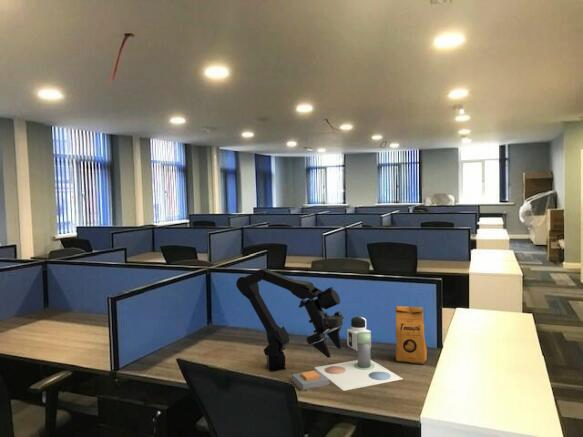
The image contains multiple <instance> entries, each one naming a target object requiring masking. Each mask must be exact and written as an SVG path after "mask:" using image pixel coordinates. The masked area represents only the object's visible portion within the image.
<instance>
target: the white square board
mask: <svg viewBox="0 0 583 437" xmlns="http://www.w3.org/2000/svg"><path fill="white" fill-rule="evenodd" d="M314 369H315V370H318V371H319V372H320V373H322V374H323V375H324V376H325V377H327V378H328V379H329V381H331V382H332V383H333V384H334V385H336V386H337V387H338V388H339V389H341V390H342V391H343V392H344V391H350V390H355V389H359V388H360V389H361V388H364V387H365V388H366V387H372V386H375V385H380V384H384V383H390V382H394V381H399V380H403V379H404V378H402V377H401V376H399V375H397V374H396V373H394V372H392V371H390V370H389V369H388V368H386V367H384V366H382V365H381V364H379V363H377V362H375V361H373V360H372V359H371V367H369V368H360V367H358V360H357V359H356V360H351V361H349V360H348V361H344V362H338V363H333V364H327V365H322V366H321V365H320V366H316V367H315V366H314Z"/></svg>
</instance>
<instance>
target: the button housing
mask: <svg viewBox="0 0 583 437" xmlns="http://www.w3.org/2000/svg"><path fill="white" fill-rule="evenodd" d="M313 371H315V372H316V373H317V374H318V375H320V379H314V380H309V381H306V380H305V379H303V378H302V377H301V373H302V372H300V373H299V372H298V373H293V374H291V379H292V380H291V381H292V383H294V385H296V386H297V387H298V388H299V389H300V390H301V391H302V392H307V391H308V389H312V388H318V387H322V386H327V385H330V380H329V379H328V378H327V377H326V376H324V375H323V374H322V373H320V372H319V371H318V370H317V369H315V370H313Z"/></svg>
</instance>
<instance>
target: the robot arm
mask: <svg viewBox="0 0 583 437" xmlns="http://www.w3.org/2000/svg"><path fill="white" fill-rule="evenodd" d="M261 281H265V282H267V283H271V285H274V286H277V287H280V288H283V289H285V290H288V291H289V292H290V293H291V294H292V295H293V296H295V297H296V298H298V299H300V302H299V305H298V308H300V309H301V308H303V307H304V308H305V310H306V313H307V315H308V316H309V320H308V322H309V324H312V326H313V328H314V330H313V332H312V333H311V334H309V335H308V336H306V340H305V341H306V343H307V345H308V346H311V347H312V346H313V347H314V348H315V349H317V350H318V352H320V353H322V354H323V355H324V356H325V357H326V358H327V359H329V358H331V354H330V351H329V348H328V346H327V337H328V338H329V339H330V340H331V342H332V343H333V345H334V346H335V347H336V348H337V349H338V350H340V349H342V346H341V338H340V332H341V329H342V326H343V325H344V323H343V320H344V319H345V318H344V316H343V313H342V312H341V311H335V312H334V314H332V315H329V313H328V312H327V311H326V312H325V311H324V310H328V309H331V308H334V307H336V306H337V305H340V304H341V298H340V295H339V293H338V292H337V291H336V290H335V289H333V287H332V286H330V287H328V288H326V289H325V290H321V289H319V288H317V287H316V286H315V285H314V283H312V281H307V280H301V279H293V278H290V277H288V276H285V275H284V274H280V273H278V272H276V271H272V270H270V269H268V268H266V267H263V268H260V269H258V270H257V271H255V272H253V273H250V274H246V275H243V276H240V277H239V278H237V280H236V288H237V290H238V291H239V292H240V294H241V295H243V296H244V297H245V298H246V299H248V301H249V302H250V304H251V306H252V308H253V310H254V312H255V313H256V315H257V317H258V318H259V320H260V323H261V324H262V326H263V328H264V330H265V332H266V340H267V343H268V345H267V346H266V347H265V348H264V349H263V353H264V356H266V364H265V366H264V367H265V368H266V369H267V370H268V371H269V372H276V371H282V370H286V369H287V367H286V355H285V352H284V351H285V350H286V347H287V346H288V345H289V343H290V337H289V336H290V334H289V333H288V332H287V330H286V327H285V326H282V327H280V326H279V325H278V324H277V323H276V321H275V318H274V317H273V316H272V314H271V312H270V309H268V306H267V305H266V303H265V301H264V299H263V298H262V295H261V294H260V288H259V287H260V285H259V282H261ZM323 309H324V310H323ZM326 335H327V337H326Z"/></svg>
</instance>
